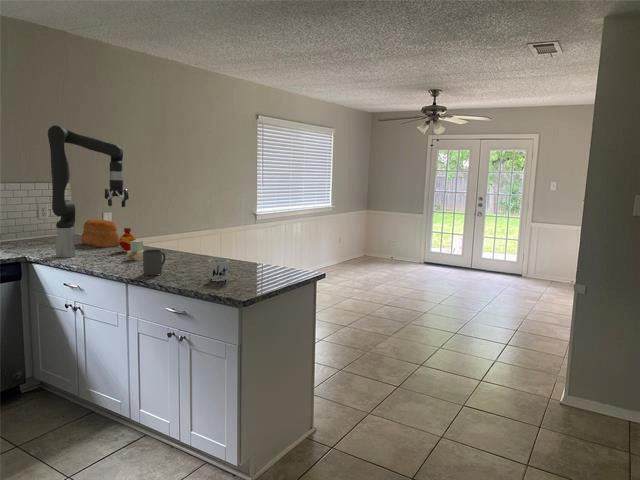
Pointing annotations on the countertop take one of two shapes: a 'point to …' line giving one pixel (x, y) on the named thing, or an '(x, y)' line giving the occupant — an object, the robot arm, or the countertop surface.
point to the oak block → (135, 255)
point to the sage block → (136, 246)
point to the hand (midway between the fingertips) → (116, 206)
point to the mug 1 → (153, 262)
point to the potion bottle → (126, 240)
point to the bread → (100, 233)
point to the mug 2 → (218, 268)
